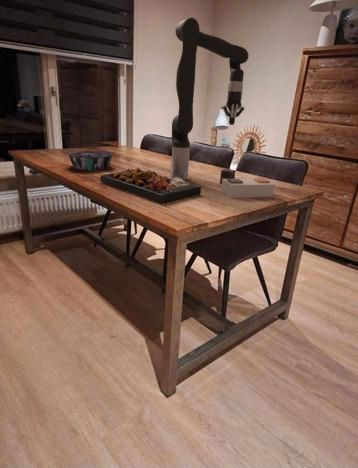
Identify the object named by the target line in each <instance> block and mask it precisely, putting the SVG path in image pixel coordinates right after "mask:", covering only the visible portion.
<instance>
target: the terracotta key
mask: <svg viewBox="0 0 358 468" xmlns="http://www.w3.org/2000/svg"><path fill="white" fill-rule="evenodd" d="M253 179H254V181H255V182H257V183H270V182H271V181H270V180H268V179H266V178H264V177H257V178H253Z"/></svg>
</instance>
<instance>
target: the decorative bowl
mask: <svg viewBox="0 0 358 468" xmlns="http://www.w3.org/2000/svg"><path fill="white" fill-rule="evenodd" d="M67 155H68V157H69V159H70V163H71V164H72V167H73V168H74V169H76V170H79V171H82V170H88V171H87V172H91V170H94V171H100V170H101V169H102V170H107V169H108V168H110V165H111V162H112V159H113V156H114V153H112V152H110V151H105V150H78V151H71V152H69V153H67Z"/></svg>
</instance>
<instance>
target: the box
mask: <svg viewBox="0 0 358 468" xmlns="http://www.w3.org/2000/svg"><path fill="white" fill-rule="evenodd" d="M235 177H236V170H234V169H228V168H224V169H222V170H220V179H219V184H220V185H222V179H236V178H235Z"/></svg>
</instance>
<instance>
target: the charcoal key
mask: <svg viewBox="0 0 358 468" xmlns="http://www.w3.org/2000/svg"><path fill="white" fill-rule="evenodd" d="M240 179H241V178H235V179H227V181H228V182H230V183H231V184H238V183H243V181H241V180H240Z"/></svg>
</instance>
